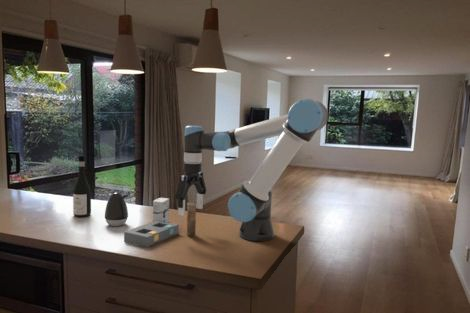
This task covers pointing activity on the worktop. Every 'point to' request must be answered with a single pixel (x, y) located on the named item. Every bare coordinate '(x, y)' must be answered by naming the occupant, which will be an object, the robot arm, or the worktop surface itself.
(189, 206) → the walnut plug
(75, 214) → the wine bottle
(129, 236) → the socket box
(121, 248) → the worktop surface
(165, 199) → the ink box
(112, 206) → the pump dispenser
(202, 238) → the worktop surface
